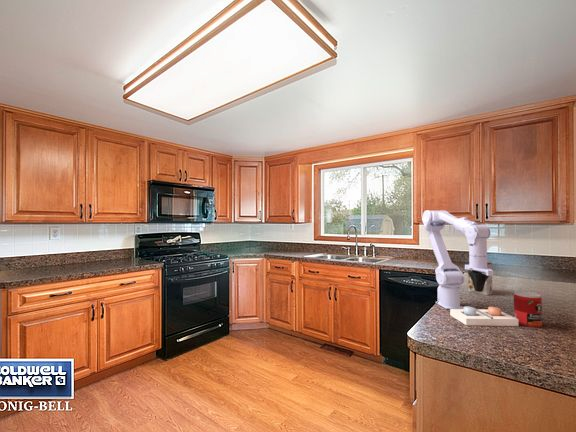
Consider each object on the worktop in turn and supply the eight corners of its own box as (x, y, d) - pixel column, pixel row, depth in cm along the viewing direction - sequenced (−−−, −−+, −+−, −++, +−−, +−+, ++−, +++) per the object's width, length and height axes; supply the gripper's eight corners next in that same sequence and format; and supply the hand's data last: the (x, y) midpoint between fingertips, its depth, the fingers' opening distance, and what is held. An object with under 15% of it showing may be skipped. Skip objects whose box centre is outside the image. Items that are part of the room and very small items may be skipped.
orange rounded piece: (485, 315, 107) (485, 306, 107) (496, 315, 107) (496, 306, 107) (492, 319, 103) (492, 309, 103) (504, 319, 103) (503, 309, 103)
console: (450, 315, 111) (450, 307, 112) (497, 315, 111) (496, 308, 111) (466, 325, 100) (466, 316, 101) (518, 326, 100) (518, 317, 100)
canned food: (531, 328, 97) (530, 296, 97) (508, 320, 105) (507, 291, 105) (548, 326, 99) (547, 295, 99) (524, 319, 107) (524, 290, 107)
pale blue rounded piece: (461, 315, 108) (461, 306, 108) (472, 315, 108) (472, 306, 108) (467, 319, 104) (467, 309, 104) (478, 319, 104) (478, 309, 104)
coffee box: (467, 291, 148) (467, 261, 149) (474, 290, 152) (473, 260, 152) (487, 295, 141) (486, 263, 141) (493, 293, 144) (492, 262, 144)
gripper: (456, 253, 115) (457, 286, 115) (479, 258, 101) (480, 296, 101) (474, 253, 115) (475, 287, 115) (499, 258, 101) (500, 296, 100)
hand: (478, 291), depth 108 cm, fingers closed
